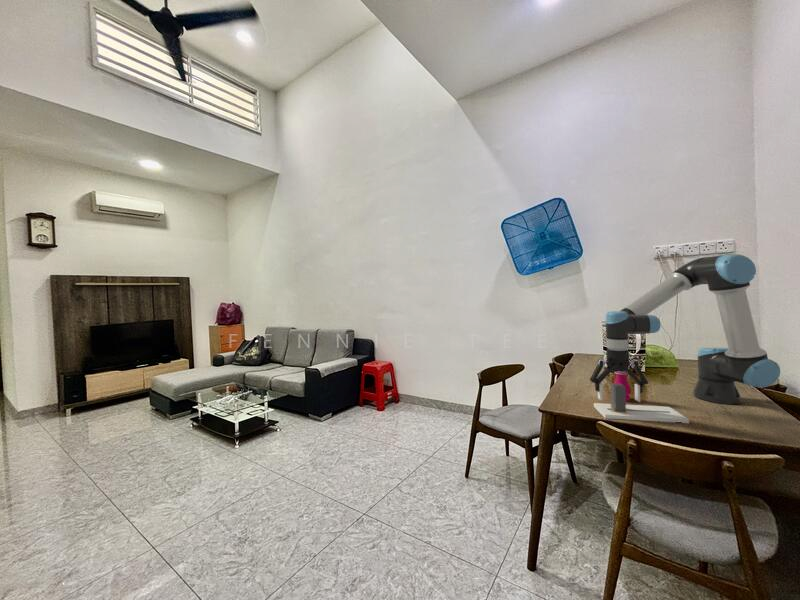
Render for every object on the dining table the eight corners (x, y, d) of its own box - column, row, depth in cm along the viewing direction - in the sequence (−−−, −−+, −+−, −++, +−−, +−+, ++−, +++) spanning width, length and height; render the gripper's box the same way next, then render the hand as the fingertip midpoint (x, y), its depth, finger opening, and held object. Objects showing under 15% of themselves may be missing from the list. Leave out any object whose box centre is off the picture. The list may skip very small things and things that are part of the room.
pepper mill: (634, 402, 141) (633, 358, 140) (616, 401, 142) (615, 358, 142) (626, 396, 148) (625, 354, 147) (609, 396, 149) (608, 354, 149)
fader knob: (620, 406, 132) (620, 383, 131) (625, 411, 127) (625, 387, 127) (611, 406, 133) (610, 383, 132) (616, 410, 128) (615, 386, 127)
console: (669, 410, 131) (669, 406, 131) (689, 423, 118) (689, 419, 118) (593, 406, 138) (593, 402, 138) (605, 418, 125) (605, 414, 125)
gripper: (647, 347, 129) (649, 397, 130) (580, 347, 136) (582, 395, 136) (657, 350, 122) (658, 404, 123) (586, 350, 128) (587, 401, 129)
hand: (618, 399), depth 130 cm, fingers open, 13 cm apart
